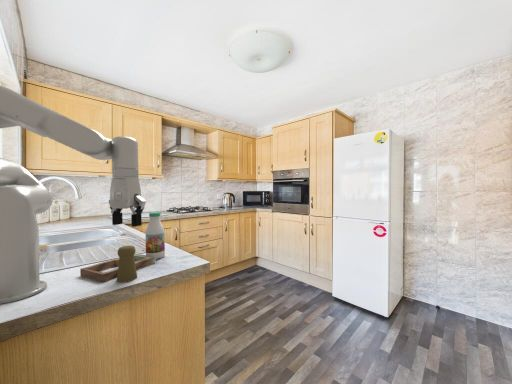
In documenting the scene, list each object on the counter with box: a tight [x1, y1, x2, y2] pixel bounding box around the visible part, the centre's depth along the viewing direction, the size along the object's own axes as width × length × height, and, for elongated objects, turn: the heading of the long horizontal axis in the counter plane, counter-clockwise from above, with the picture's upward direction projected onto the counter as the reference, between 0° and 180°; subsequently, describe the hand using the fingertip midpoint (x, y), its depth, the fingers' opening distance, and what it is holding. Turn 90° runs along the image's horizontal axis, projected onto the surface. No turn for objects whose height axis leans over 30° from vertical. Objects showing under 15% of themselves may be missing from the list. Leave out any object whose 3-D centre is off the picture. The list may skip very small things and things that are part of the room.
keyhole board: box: [79, 253, 156, 283], centre depth 81 cm, size 20×13×2 cm, turn 155°
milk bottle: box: [145, 211, 166, 260], centre depth 95 cm, size 8×8×20 cm
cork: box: [116, 245, 138, 283], centre depth 72 cm, size 6×6×11 cm
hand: (126, 225), depth 72 cm, fingers open, 9 cm apart
